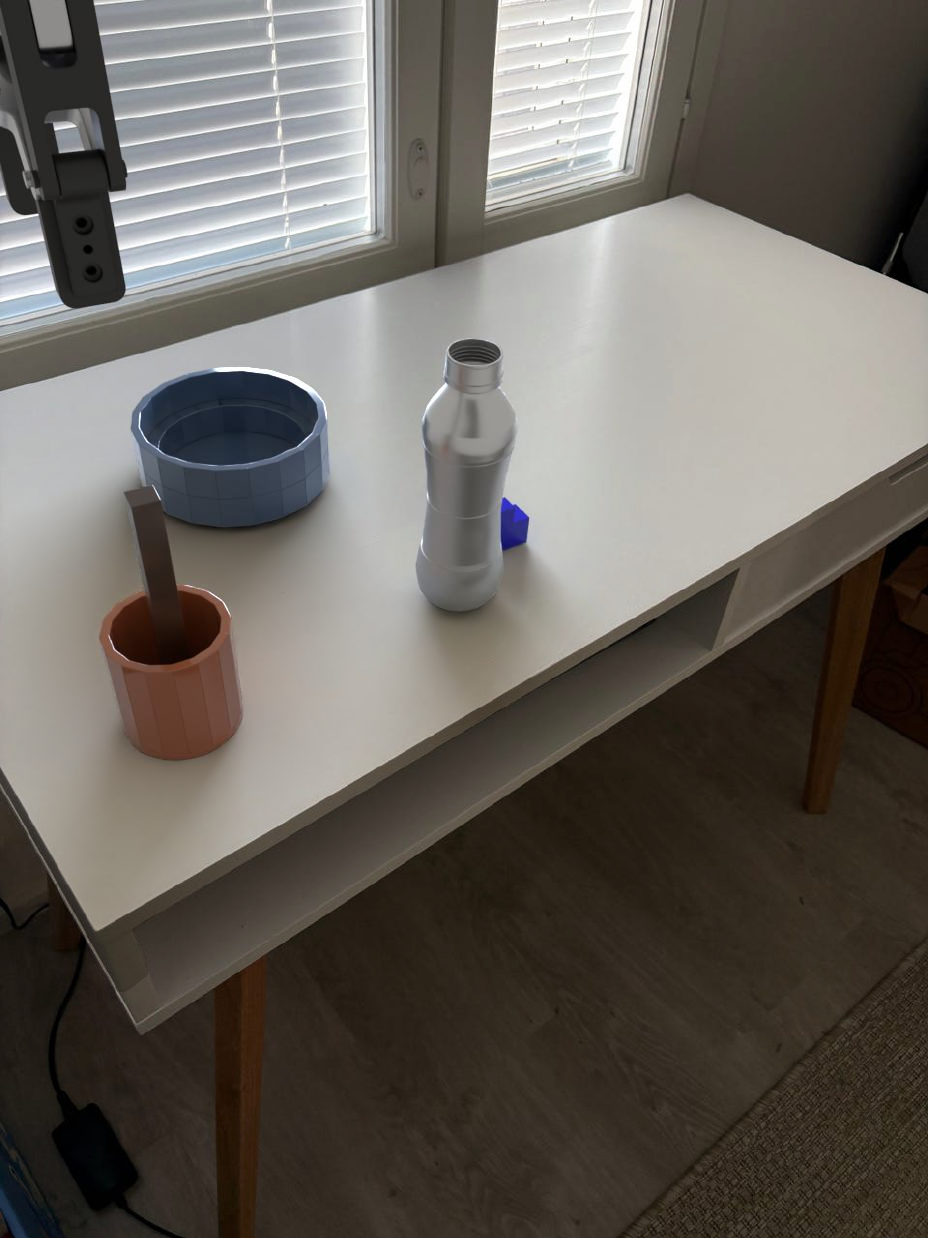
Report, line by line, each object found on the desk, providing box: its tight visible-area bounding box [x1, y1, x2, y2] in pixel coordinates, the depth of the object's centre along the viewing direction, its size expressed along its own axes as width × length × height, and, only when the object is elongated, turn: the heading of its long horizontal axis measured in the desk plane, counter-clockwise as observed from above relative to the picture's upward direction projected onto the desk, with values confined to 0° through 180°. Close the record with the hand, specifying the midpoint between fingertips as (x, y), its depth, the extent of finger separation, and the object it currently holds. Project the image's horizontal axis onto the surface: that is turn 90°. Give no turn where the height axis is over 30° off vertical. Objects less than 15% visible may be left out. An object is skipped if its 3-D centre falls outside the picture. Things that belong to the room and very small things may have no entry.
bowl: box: [130, 366, 330, 528], centre depth 84 cm, size 15×15×6 cm
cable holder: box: [501, 496, 530, 552], centre depth 82 cm, size 8×4×4 cm, turn 31°
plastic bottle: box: [415, 337, 519, 612], centre depth 69 cm, size 6×7×20 cm
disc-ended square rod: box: [123, 485, 190, 665], centre depth 60 cm, size 4×4×17 cm
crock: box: [98, 584, 244, 761], centre depth 63 cm, size 8×8×8 cm
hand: (65, 252), depth 38 cm, fingers open, 8 cm apart
